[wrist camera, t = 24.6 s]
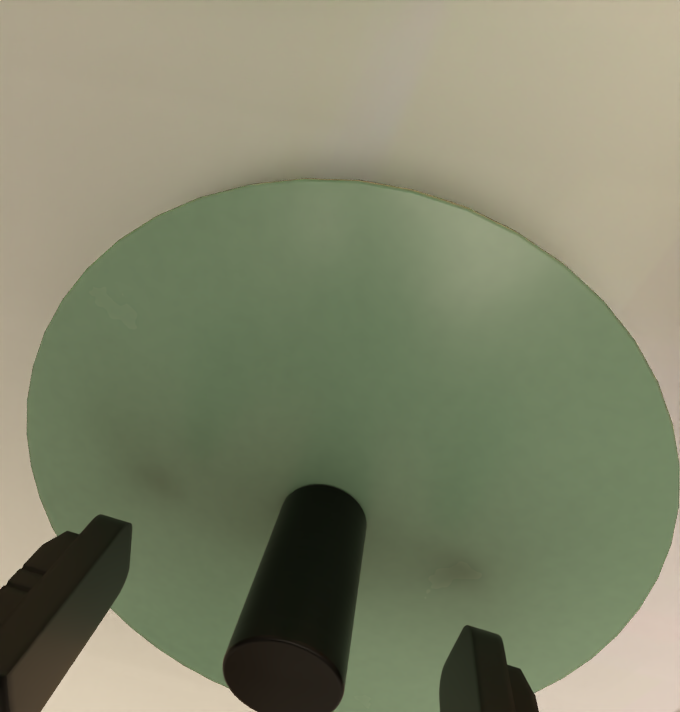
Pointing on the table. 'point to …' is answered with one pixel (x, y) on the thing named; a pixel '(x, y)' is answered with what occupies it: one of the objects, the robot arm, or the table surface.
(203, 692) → the table surface
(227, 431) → the pan lid
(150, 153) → the table surface
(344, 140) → the table surface
